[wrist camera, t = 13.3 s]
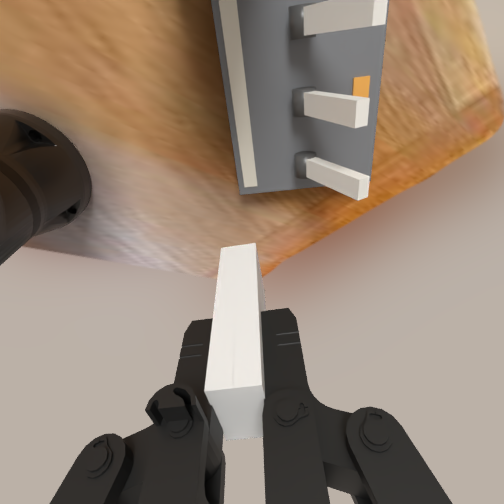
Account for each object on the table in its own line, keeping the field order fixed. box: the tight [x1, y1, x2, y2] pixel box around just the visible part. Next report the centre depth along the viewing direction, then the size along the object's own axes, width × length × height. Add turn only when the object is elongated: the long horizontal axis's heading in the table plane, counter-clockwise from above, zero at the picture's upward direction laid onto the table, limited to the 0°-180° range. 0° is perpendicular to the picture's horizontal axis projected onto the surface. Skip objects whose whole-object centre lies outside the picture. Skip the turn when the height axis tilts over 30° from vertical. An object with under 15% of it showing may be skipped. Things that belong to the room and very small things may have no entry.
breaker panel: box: [211, 0, 389, 195], centre depth 34 cm, size 16×20×3 cm
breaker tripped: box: [292, 86, 370, 128], centre depth 28 cm, size 2×2×10 cm
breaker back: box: [294, 151, 370, 201], centre depth 32 cm, size 2×2×10 cm
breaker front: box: [288, 0, 388, 40], centre depth 24 cm, size 2×2×10 cm
